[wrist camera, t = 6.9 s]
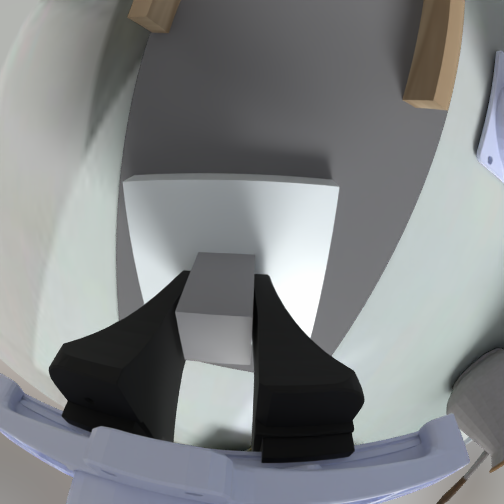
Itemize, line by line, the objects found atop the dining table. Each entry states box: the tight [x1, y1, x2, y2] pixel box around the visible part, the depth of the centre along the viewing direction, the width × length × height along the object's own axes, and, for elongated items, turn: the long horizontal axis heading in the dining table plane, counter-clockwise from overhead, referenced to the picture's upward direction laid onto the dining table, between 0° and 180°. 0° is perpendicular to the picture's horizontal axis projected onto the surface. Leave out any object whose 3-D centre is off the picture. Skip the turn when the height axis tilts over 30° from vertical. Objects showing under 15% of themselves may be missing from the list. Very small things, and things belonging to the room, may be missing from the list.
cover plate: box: [123, 173, 339, 365], centre depth 11 cm, size 9×9×5 cm
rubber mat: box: [116, 0, 465, 372], centre depth 11 cm, size 14×30×1 cm, turn 165°
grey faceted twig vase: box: [437, 348, 504, 504], centre depth 16 cm, size 21×12×15 cm, turn 164°
